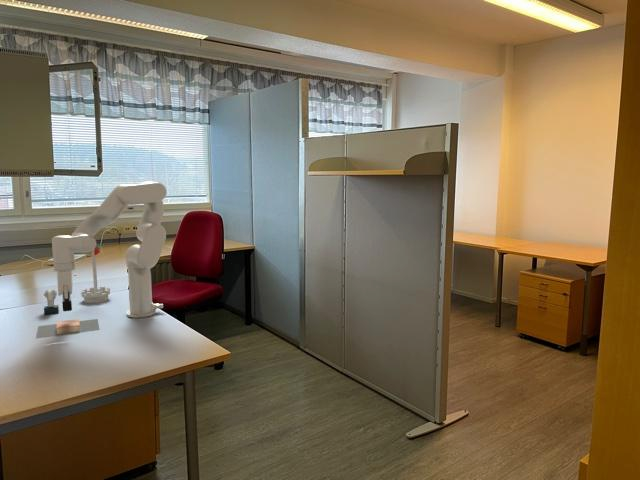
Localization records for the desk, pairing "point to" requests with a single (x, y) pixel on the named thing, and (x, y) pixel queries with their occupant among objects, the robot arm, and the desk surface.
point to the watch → (50, 302)
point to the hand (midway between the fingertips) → (67, 310)
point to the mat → (52, 331)
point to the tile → (68, 326)
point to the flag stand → (95, 286)
